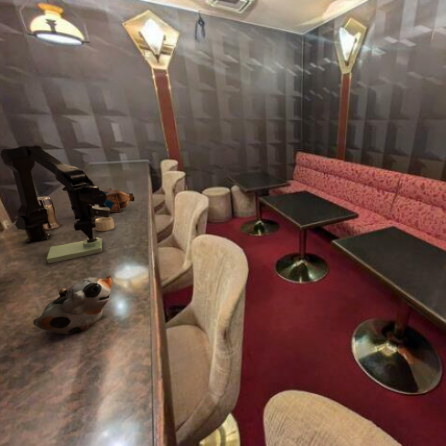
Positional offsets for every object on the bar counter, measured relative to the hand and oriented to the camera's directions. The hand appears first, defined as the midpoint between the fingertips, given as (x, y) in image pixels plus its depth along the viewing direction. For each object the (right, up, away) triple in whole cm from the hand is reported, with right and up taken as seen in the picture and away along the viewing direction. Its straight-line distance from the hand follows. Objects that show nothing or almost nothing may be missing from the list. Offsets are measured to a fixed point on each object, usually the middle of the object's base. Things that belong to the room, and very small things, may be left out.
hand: (91, 238), depth 102 cm
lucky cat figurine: (+27, -20, -35) cm, 48 cm away
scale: (-4, -5, -2) cm, 7 cm away
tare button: (0, -2, +1) cm, 2 cm away
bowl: (-10, +3, +20) cm, 23 cm away
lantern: (-25, +13, +44) cm, 53 cm away
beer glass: (-37, +4, +20) cm, 42 cm away
